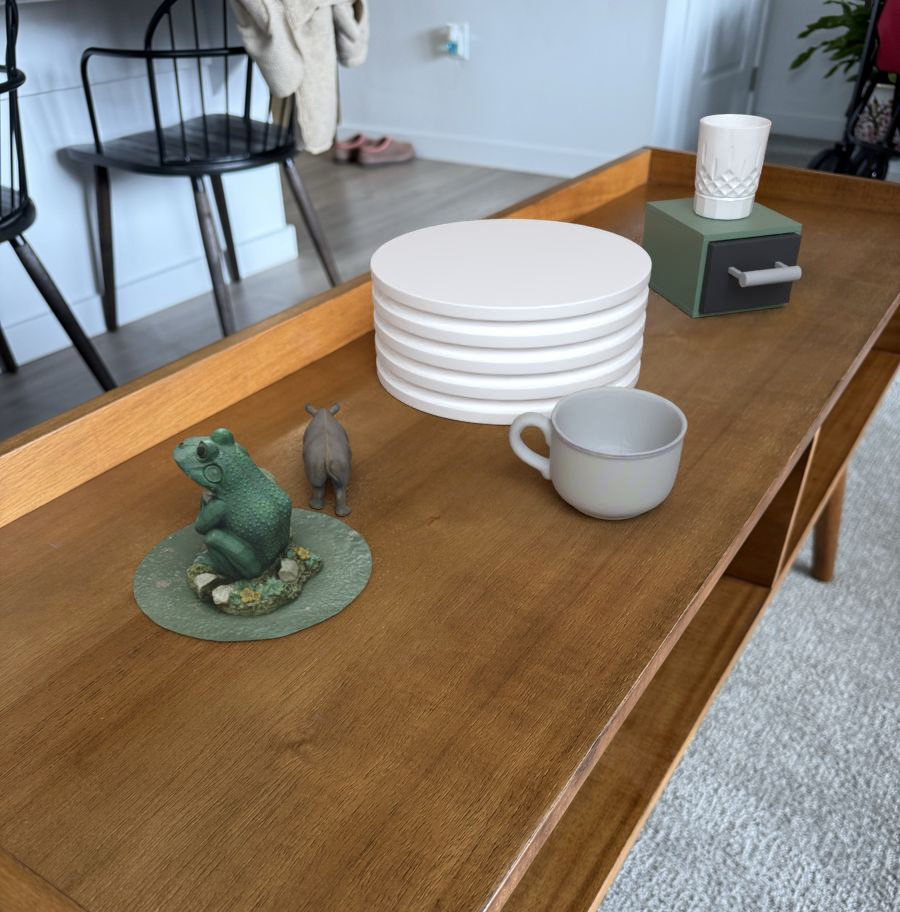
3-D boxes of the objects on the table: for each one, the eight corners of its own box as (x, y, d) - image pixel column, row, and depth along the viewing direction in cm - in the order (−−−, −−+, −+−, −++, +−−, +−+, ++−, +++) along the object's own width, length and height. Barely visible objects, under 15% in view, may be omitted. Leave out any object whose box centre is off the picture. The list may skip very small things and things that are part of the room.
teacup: (683, 480, 83) (696, 395, 79) (663, 547, 75) (676, 455, 70) (528, 457, 87) (531, 374, 82) (493, 518, 79) (494, 429, 74)
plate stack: (434, 307, 118) (432, 209, 111) (662, 335, 110) (675, 231, 103) (331, 400, 97) (321, 287, 90) (604, 444, 89) (615, 323, 82)
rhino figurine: (347, 440, 90) (342, 380, 87) (358, 516, 79) (353, 452, 76) (303, 443, 90) (296, 383, 86) (308, 521, 79) (301, 456, 75)
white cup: (763, 221, 112) (779, 127, 106) (695, 222, 112) (707, 128, 106) (747, 203, 118) (761, 113, 112) (682, 204, 118) (694, 114, 112)
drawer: (809, 315, 112) (824, 246, 107) (721, 326, 109) (733, 257, 104) (731, 268, 125) (741, 205, 121) (651, 277, 123) (658, 214, 118)
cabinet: (786, 306, 117) (802, 224, 111) (692, 318, 114) (704, 235, 108) (725, 269, 128) (737, 193, 122) (638, 279, 125) (646, 202, 119)
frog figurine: (221, 491, 83) (198, 364, 76) (410, 534, 77) (404, 401, 70) (82, 607, 70) (39, 467, 63) (297, 670, 64) (275, 522, 57)
